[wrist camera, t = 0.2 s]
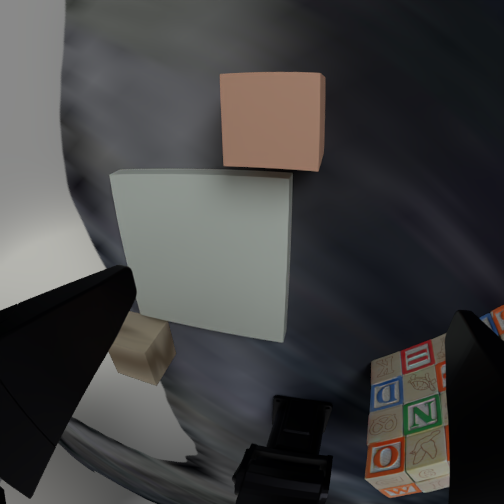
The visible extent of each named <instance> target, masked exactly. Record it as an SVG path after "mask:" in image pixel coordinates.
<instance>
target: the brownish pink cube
mask: <svg viewBox="0 0 504 504" xmlns="http://www.w3.org/2000/svg"><path fill="white" fill-rule="evenodd" d="M220 94H221V119H222V142H223V163H224V166H234V167H259V168H277V169H293V170H306V171H319V167H320V164H321V161H322V157H323V154H324V131H325V77H324V76H323V75H322V74H321V73H307V72H253V73H231V74H220Z"/></svg>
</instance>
